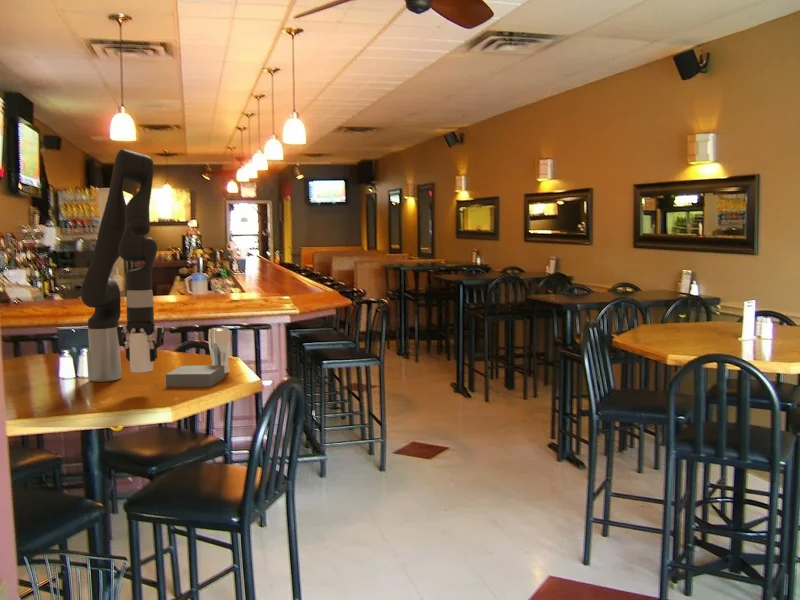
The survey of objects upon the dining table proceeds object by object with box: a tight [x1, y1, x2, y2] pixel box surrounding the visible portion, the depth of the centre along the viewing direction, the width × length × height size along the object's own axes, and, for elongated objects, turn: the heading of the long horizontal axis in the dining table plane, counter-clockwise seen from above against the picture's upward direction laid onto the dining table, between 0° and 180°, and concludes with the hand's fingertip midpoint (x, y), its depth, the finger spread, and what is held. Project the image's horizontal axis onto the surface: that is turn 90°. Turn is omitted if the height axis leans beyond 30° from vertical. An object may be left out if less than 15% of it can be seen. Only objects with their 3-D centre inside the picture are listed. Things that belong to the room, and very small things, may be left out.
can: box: [128, 332, 154, 374], centre depth 210 cm, size 6×6×12 cm
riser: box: [165, 365, 226, 388], centre depth 225 cm, size 14×14×4 cm
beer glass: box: [208, 327, 231, 375], centre depth 239 cm, size 7×7×15 cm
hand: (141, 360), depth 211 cm, fingers closed on can, 6 cm apart
